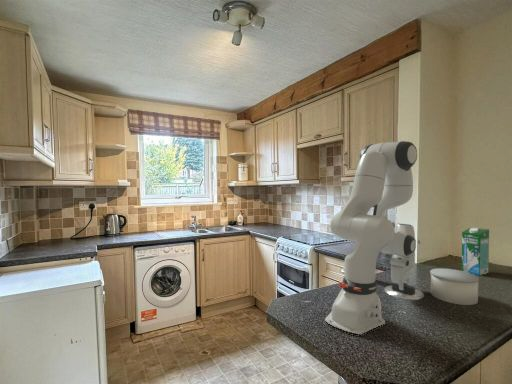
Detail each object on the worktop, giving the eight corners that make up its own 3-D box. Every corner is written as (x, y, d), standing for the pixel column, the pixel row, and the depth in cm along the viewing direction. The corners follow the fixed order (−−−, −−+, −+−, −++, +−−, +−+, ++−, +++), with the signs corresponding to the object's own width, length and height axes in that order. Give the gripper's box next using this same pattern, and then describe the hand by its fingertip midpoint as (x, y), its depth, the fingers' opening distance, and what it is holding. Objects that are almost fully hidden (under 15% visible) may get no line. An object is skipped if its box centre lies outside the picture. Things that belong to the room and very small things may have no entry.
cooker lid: (417, 304, 115) (417, 294, 115) (378, 293, 127) (378, 285, 126) (428, 293, 126) (428, 285, 126) (391, 284, 138) (391, 276, 138)
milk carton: (461, 271, 158) (462, 228, 157) (470, 269, 162) (471, 227, 161) (479, 275, 150) (480, 230, 149) (488, 273, 153) (489, 229, 153)
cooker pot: (475, 309, 109) (475, 284, 109) (425, 296, 122) (425, 274, 122) (481, 296, 121) (482, 274, 121) (435, 286, 134) (435, 266, 134)
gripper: (404, 253, 135) (403, 281, 136) (388, 261, 121) (388, 292, 122) (418, 255, 131) (418, 284, 131) (403, 264, 117) (403, 296, 117)
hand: (403, 288), depth 126 cm, fingers open, 4 cm apart
